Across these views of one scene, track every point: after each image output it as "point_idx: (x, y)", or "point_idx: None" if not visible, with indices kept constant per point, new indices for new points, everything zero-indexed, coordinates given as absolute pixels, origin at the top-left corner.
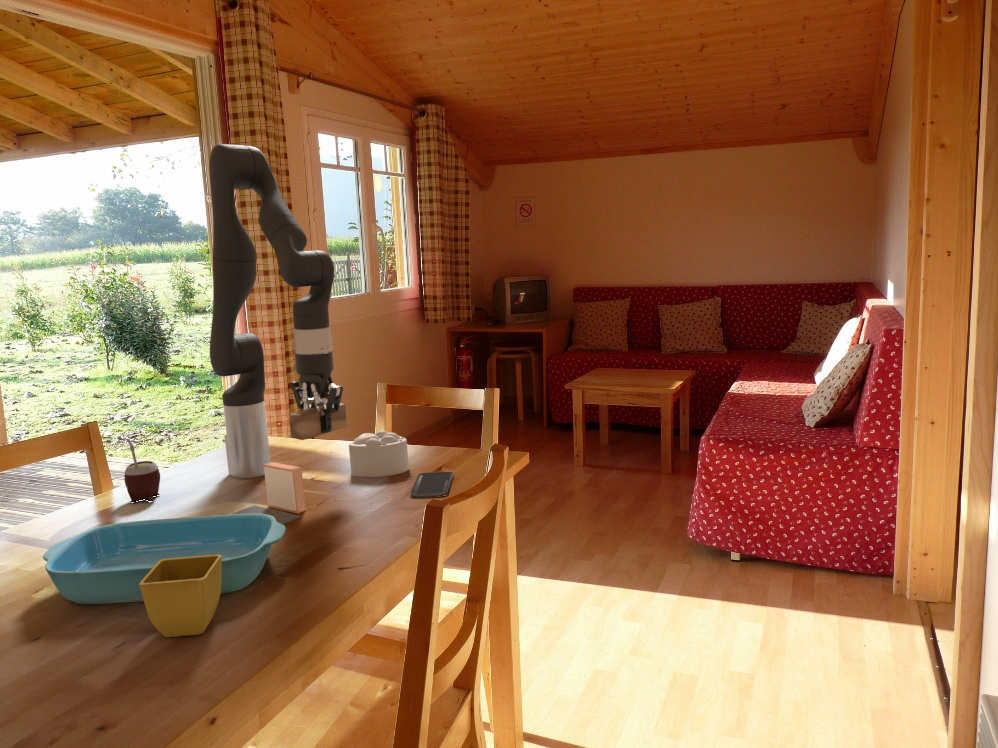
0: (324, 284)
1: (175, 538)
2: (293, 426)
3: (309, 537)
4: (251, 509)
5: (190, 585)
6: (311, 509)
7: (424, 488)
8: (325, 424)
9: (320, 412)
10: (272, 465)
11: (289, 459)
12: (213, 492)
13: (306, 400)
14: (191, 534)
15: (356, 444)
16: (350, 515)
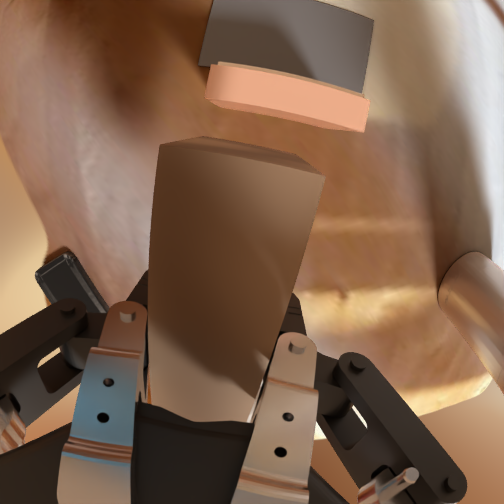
0: None
1: None
2: (273, 154)
3: (113, 7)
4: (347, 72)
5: None
6: (210, 116)
7: (74, 288)
8: (144, 282)
9: (140, 319)
10: (333, 93)
11: (429, 356)
12: (480, 173)
13: (265, 394)
14: None
15: (260, 386)
16: (103, 121)
